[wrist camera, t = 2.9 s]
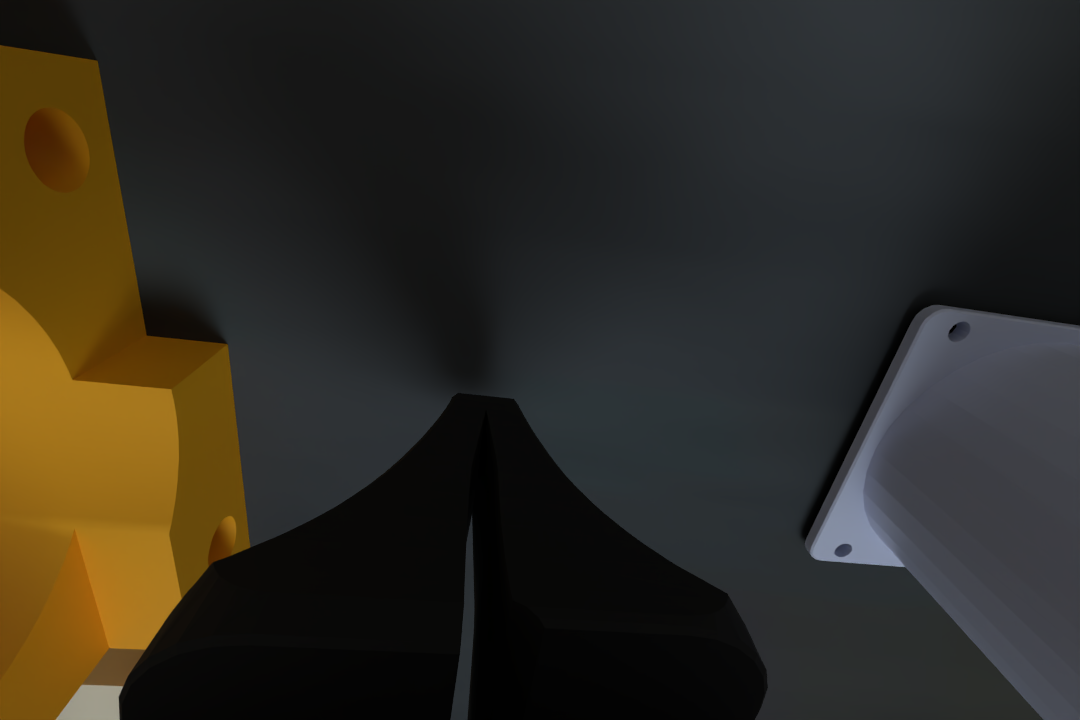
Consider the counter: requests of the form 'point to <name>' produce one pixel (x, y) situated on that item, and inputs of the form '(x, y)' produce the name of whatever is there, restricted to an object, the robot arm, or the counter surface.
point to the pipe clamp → (92, 407)
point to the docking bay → (102, 687)
